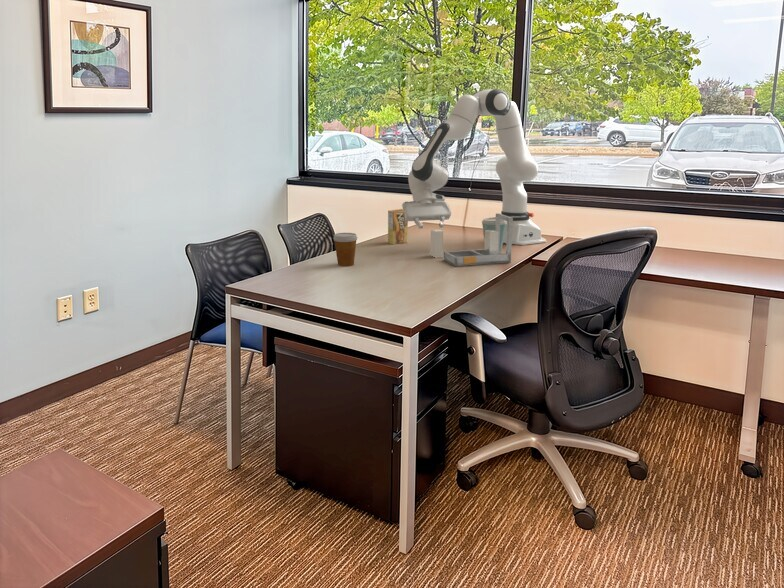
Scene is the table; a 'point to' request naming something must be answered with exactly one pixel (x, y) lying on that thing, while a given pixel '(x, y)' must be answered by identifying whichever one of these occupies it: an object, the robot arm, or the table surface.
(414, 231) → the table surface
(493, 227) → the disposable coffee cup
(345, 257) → the disposable coffee cup
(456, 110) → the robot arm
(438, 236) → the cream rectangular block
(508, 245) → the rack
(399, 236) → the candy box
